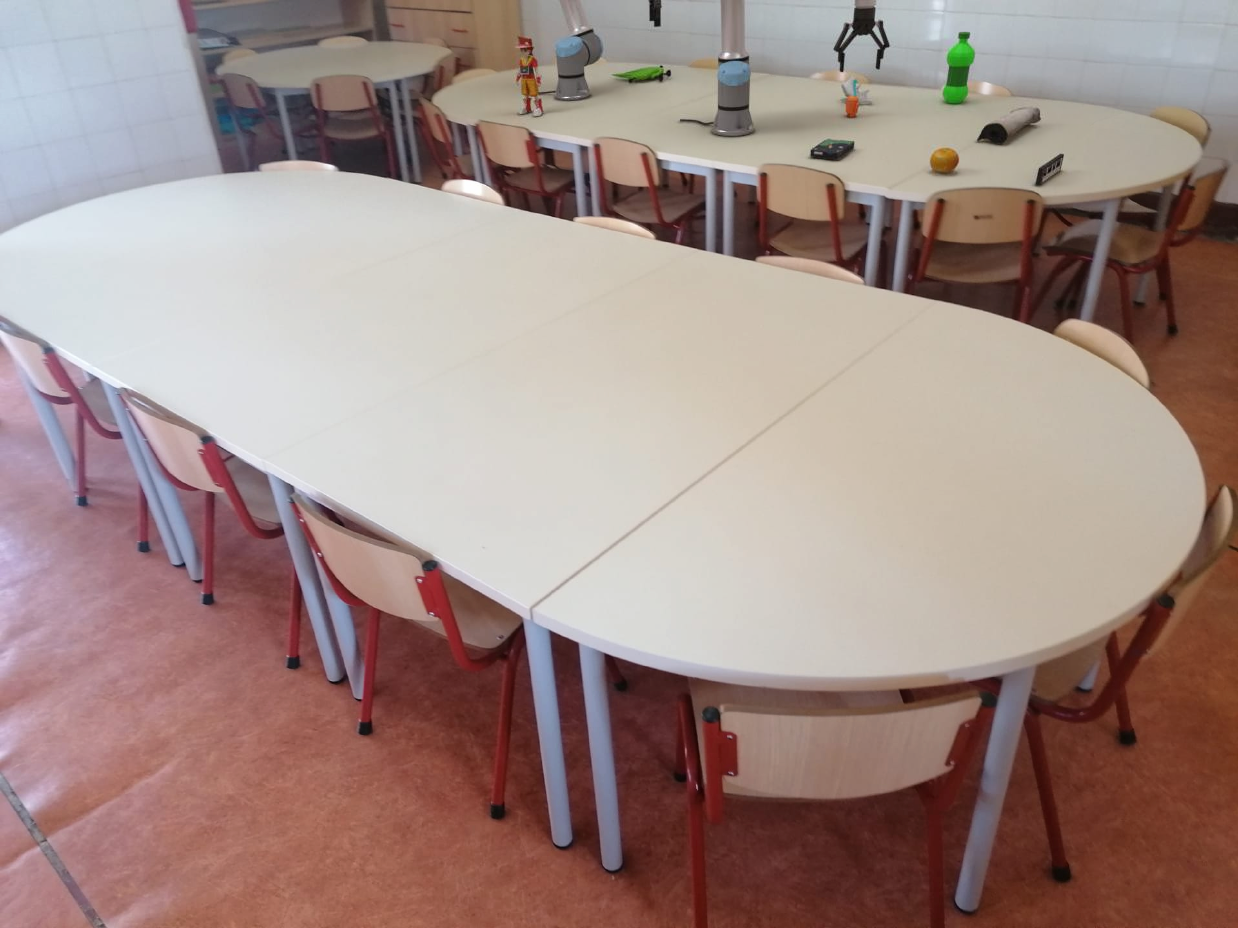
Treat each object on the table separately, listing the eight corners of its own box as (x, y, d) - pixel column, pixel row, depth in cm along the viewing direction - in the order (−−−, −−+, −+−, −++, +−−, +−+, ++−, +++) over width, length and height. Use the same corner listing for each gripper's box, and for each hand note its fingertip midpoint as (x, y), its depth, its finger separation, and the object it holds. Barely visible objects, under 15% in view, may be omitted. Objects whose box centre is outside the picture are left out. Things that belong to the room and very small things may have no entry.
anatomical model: (836, 76, 365) (861, 69, 364) (839, 102, 371) (863, 95, 370) (847, 84, 352) (872, 77, 352) (849, 111, 358) (874, 104, 358)
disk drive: (838, 161, 299) (854, 149, 309) (839, 153, 298) (855, 140, 308) (809, 158, 304) (825, 146, 314) (810, 149, 302) (826, 137, 313)
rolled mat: (1008, 112, 326) (1032, 94, 318) (1022, 133, 327) (1046, 116, 319) (972, 135, 309) (997, 117, 301) (987, 157, 310) (1012, 140, 301)
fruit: (924, 163, 281) (941, 140, 278) (925, 165, 289) (941, 143, 286) (946, 178, 280) (963, 155, 277) (947, 180, 288) (963, 158, 285)
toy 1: (513, 115, 373) (504, 37, 356) (523, 110, 380) (514, 33, 363) (539, 117, 369) (531, 37, 352) (548, 111, 376) (541, 33, 359)
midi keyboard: (1039, 185, 269) (1043, 168, 266) (1035, 184, 270) (1038, 168, 267) (1060, 170, 279) (1064, 154, 277) (1056, 169, 280) (1060, 153, 277)
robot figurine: (860, 118, 343) (862, 95, 338) (848, 119, 342) (850, 97, 338) (853, 114, 348) (855, 92, 344) (842, 115, 348) (844, 93, 343)
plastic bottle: (973, 101, 354) (984, 32, 339) (955, 106, 349) (966, 36, 335) (952, 97, 361) (962, 29, 346) (934, 102, 356) (944, 33, 342)
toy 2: (680, 71, 422) (628, 71, 438) (679, 59, 419) (627, 60, 435) (647, 89, 405) (595, 88, 421) (646, 77, 402) (593, 76, 418)
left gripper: (668, -31, 353) (668, 28, 365) (659, -38, 373) (659, 18, 385) (649, -30, 352) (650, 29, 365) (641, -37, 373) (642, 19, 385)
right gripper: (895, 2, 324) (889, 65, 336) (827, 8, 323) (823, 71, 335) (902, 5, 317) (896, 69, 330) (833, 11, 317) (829, 75, 329)
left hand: (655, 24), depth 375 cm, fingers open, 13 cm apart
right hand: (859, 70), depth 332 cm, fingers open, 13 cm apart
